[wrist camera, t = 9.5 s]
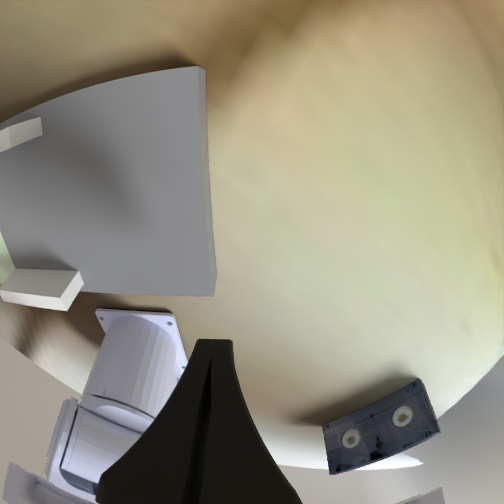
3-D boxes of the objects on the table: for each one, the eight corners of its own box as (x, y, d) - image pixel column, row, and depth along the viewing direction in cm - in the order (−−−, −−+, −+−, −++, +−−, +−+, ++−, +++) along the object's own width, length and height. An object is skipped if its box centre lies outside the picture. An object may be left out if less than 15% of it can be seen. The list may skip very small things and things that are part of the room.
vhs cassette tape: (327, 427, 40) (335, 475, 31) (319, 424, 38) (327, 475, 30) (423, 382, 33) (442, 432, 25) (420, 377, 32) (440, 431, 24)
